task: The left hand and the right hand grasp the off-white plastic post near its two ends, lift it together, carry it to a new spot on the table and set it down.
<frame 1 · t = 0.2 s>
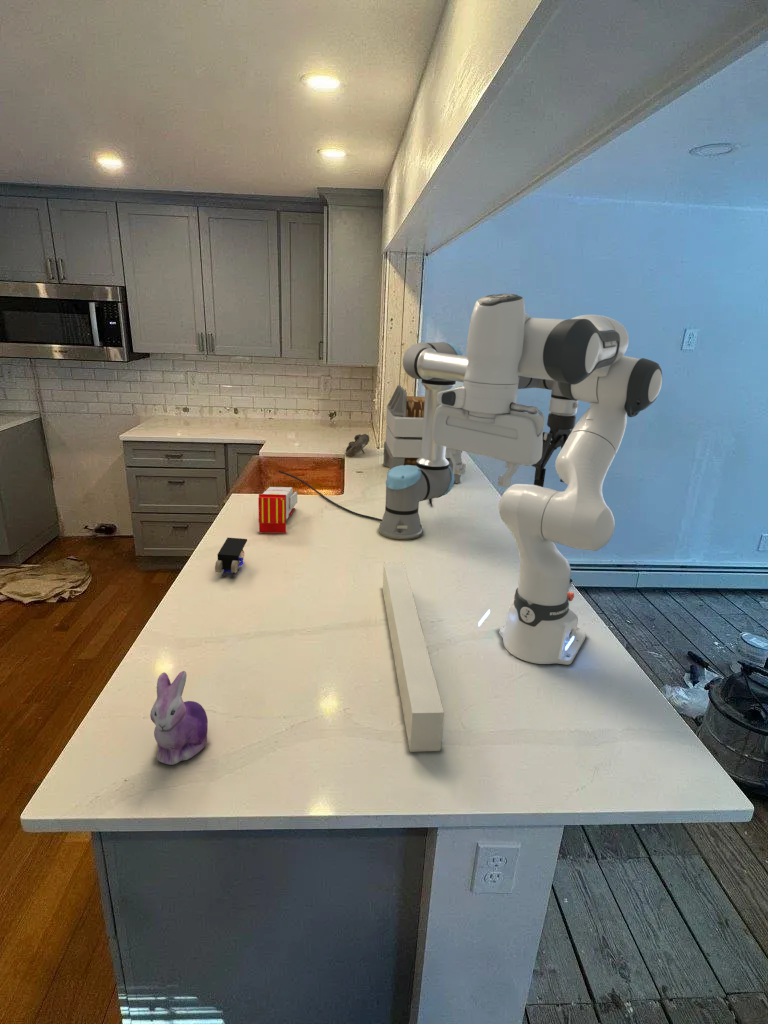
left hand: (551, 486, 165), 28 cm above the counter, tool pointing down, fingers open, 13 cm apart
right hand: (480, 479, 98), 48 cm above the counter, tool pointing down, fingers open, 8 cm apart
post: (405, 652, 131), on the counter
feather: (430, 496, 241), on the counter
toy: (278, 519, 208), on the counter
transformer: (419, 473, 275), on the counter
black wheeled rover: (232, 569, 168), on the counter
fossil: (357, 453, 307), on the counter
figurine: (183, 747, 100), on the counter
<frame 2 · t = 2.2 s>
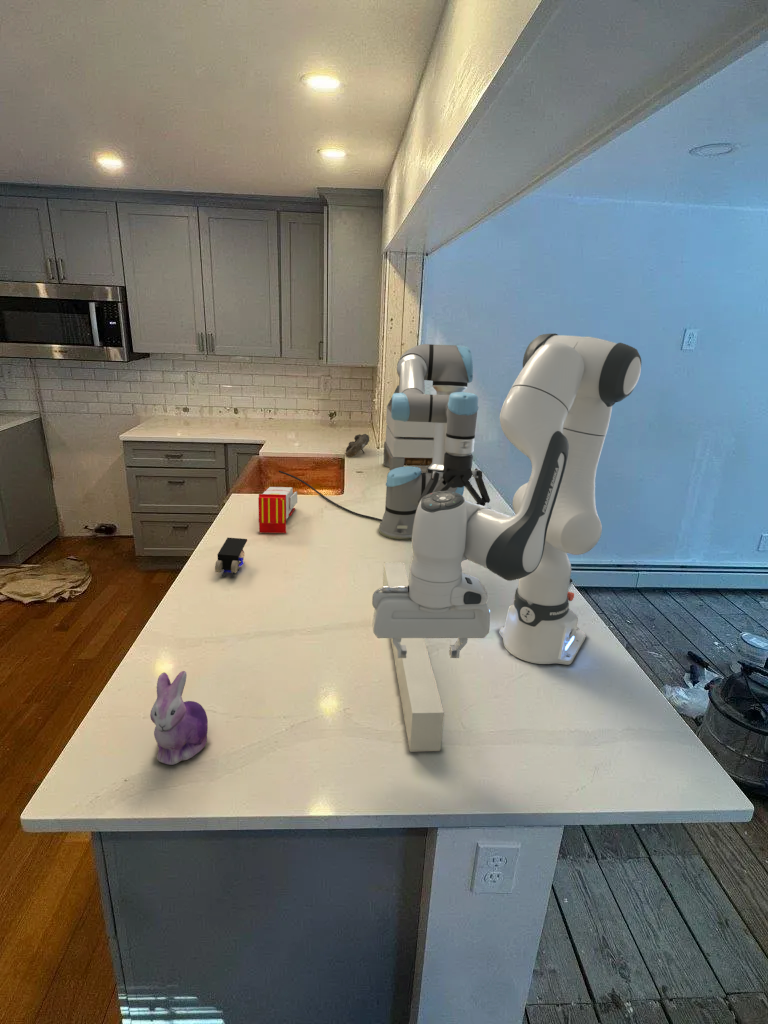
left hand: (452, 528, 156), 19 cm above the counter, tool pointing down, fingers open, 13 cm apart
right hand: (427, 656, 101), 17 cm above the counter, tool pointing down, fingers open, 8 cm apart
nothing on the counter moved.
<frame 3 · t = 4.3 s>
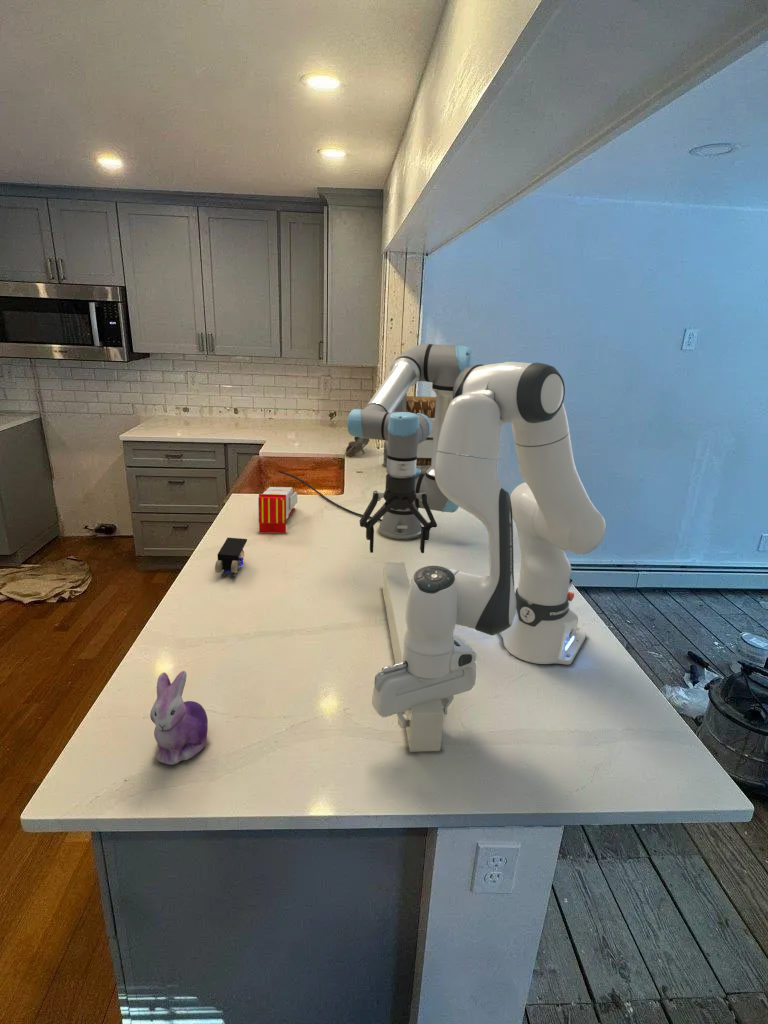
left hand: (396, 551, 151), 14 cm above the counter, tool pointing down, fingers open, 13 cm apart
right hand: (422, 719, 105), 3 cm above the counter, tool pointing down, fingers closed on post, 7 cm apart
post: (405, 652, 131), on the counter, touching right hand
everything else where it was.
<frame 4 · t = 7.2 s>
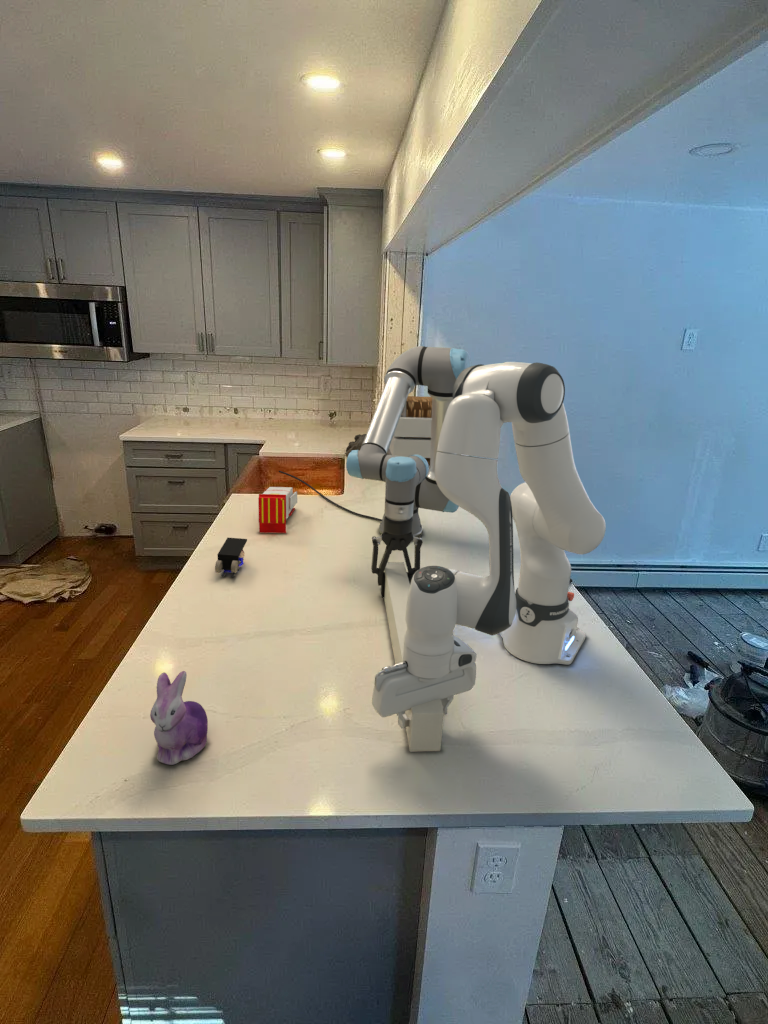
left hand: (394, 595, 156), 1 cm above the counter, tool pointing down, fingers closed on post, 6 cm apart
right hand: (422, 719, 105), 3 cm above the counter, tool pointing down, fingers closed on post, 7 cm apart
post: (405, 652, 131), on the counter, touching left hand, right hand
everything else where it was.
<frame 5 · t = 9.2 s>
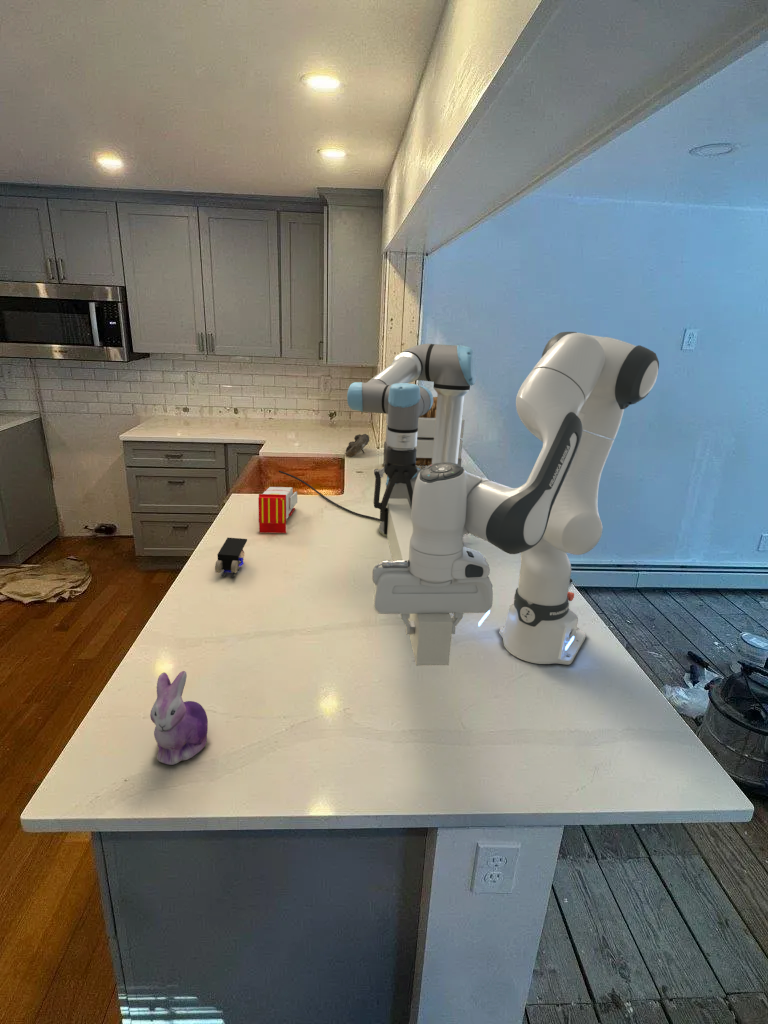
left hand: (397, 532, 150), 19 cm above the counter, tool pointing down, fingers closed on post, 6 cm apart
right hand: (430, 632, 99), 22 cm above the counter, tool pointing down, fingers closed on post, 5 cm apart
post: (409, 580, 125), point 18 cm above the counter, touching left hand, right hand
everything else where it was.
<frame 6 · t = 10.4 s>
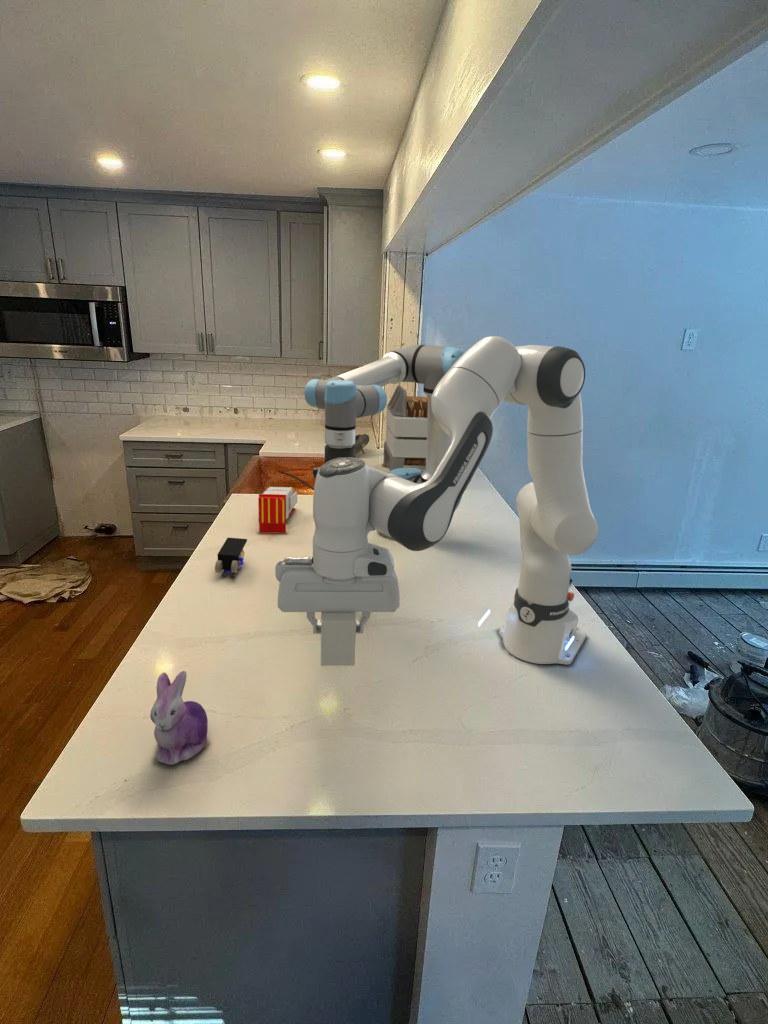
left hand: (338, 531, 148), 19 cm above the counter, tool pointing down, fingers closed on post, 6 cm apart
right hand: (338, 631, 97), 22 cm above the counter, tool pointing down, fingers closed on post, 5 cm apart
post: (338, 580, 123), point 19 cm above the counter, touching left hand, right hand
everything else where it was.
when the left hand's fingers open (2 cm above the counter, at t = 13.8 s): post stays where it is, on the counter.
when the right hand's fingers open (4 cm above the counter, at t = 14.0 s): post stays where it is, on the counter.
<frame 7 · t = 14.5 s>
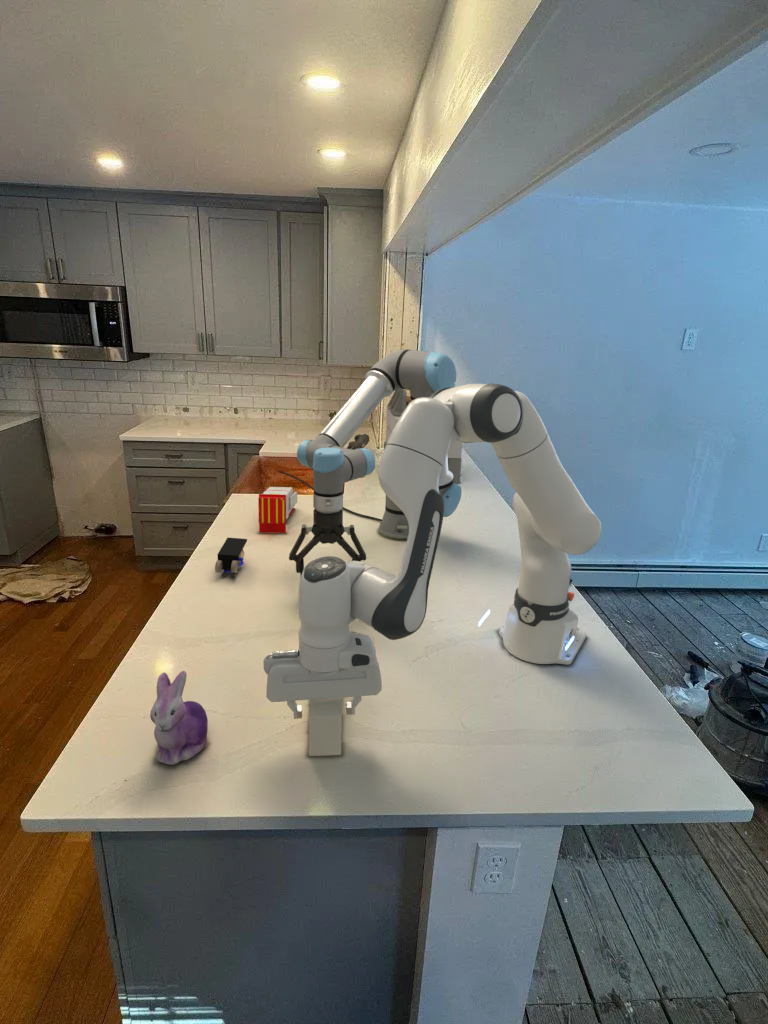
left hand: (327, 583, 152), 5 cm above the counter, tool pointing down, fingers open, 13 cm apart
right hand: (324, 714, 102), 5 cm above the counter, tool pointing down, fingers open, 8 cm apart
post: (326, 654, 129), on the counter
everything else where it was.
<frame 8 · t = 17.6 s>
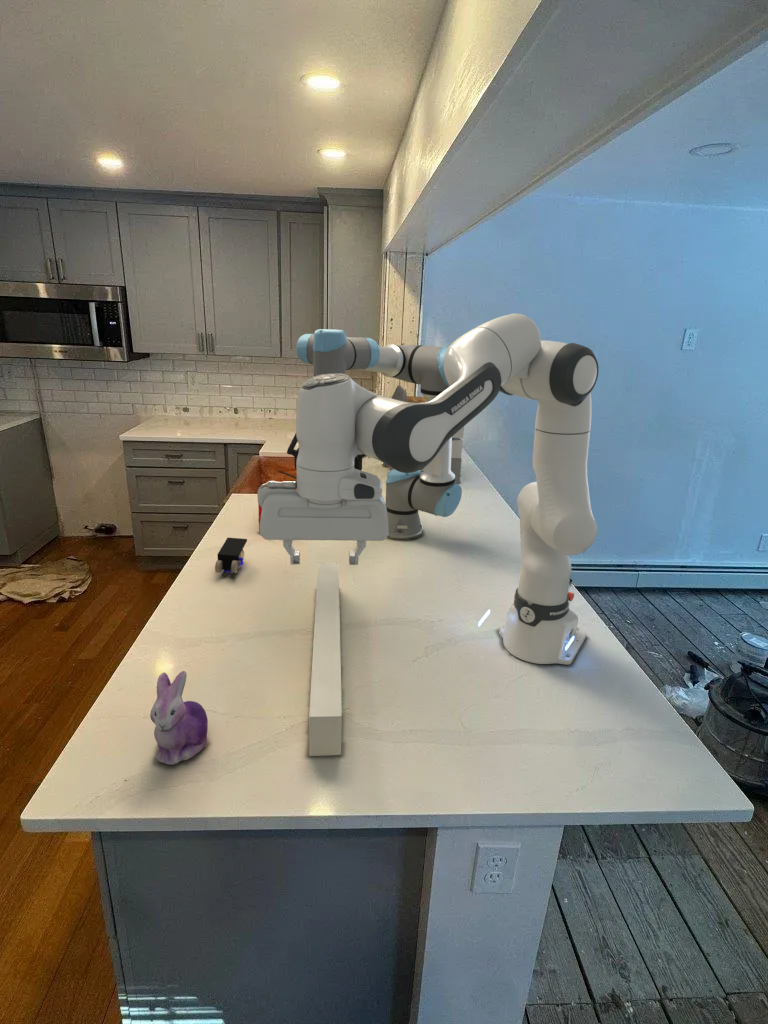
left hand: (328, 482, 143), 33 cm above the counter, tool pointing down, fingers open, 13 cm apart
right hand: (324, 563, 92), 35 cm above the counter, tool pointing down, fingers open, 8 cm apart
nothing on the counter moved.
at the end: post inside the target area (0.4 cm from its centre), on the counter; post tilted 0°; post never tilted more than 2° during the clip; both hands held the post at the same time; the left hand is holding nothing; the right hand is holding nothing; post at rest at the end (0.0 cm/s) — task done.
